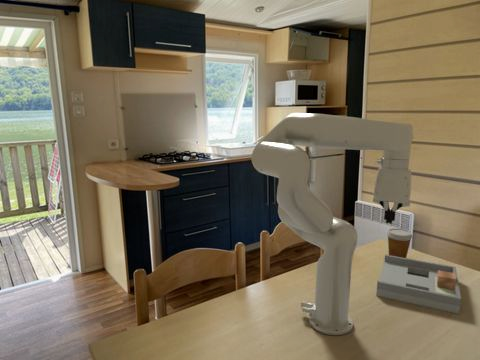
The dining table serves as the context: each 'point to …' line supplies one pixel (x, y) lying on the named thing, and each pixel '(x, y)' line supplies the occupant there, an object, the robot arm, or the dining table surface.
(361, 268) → the dining table surface
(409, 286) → the box
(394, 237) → the disposable coffee cup
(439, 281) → the block
